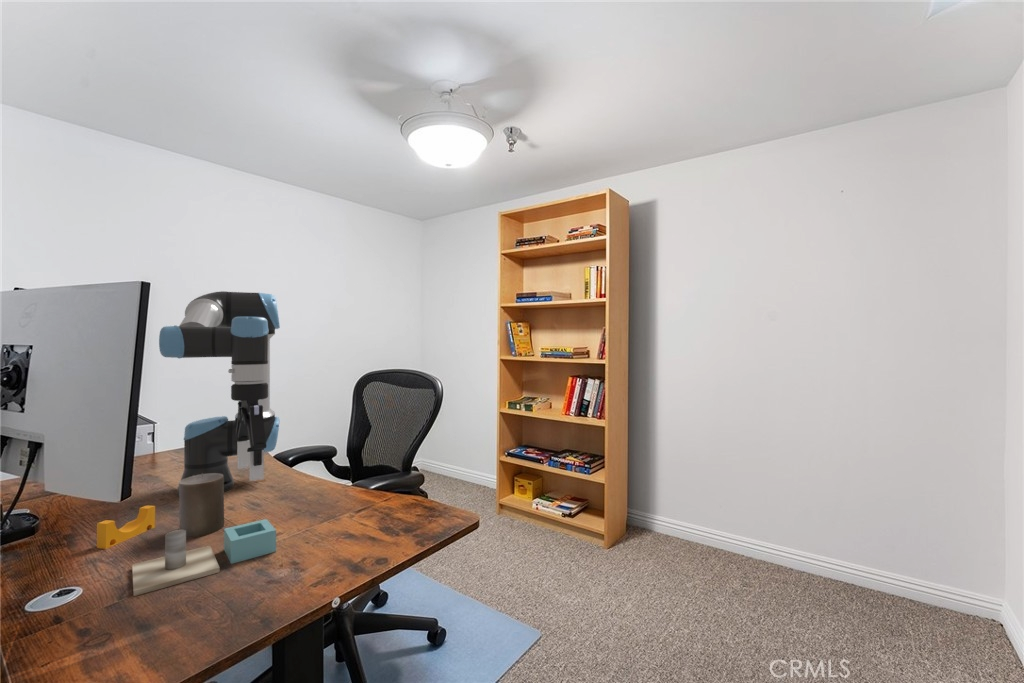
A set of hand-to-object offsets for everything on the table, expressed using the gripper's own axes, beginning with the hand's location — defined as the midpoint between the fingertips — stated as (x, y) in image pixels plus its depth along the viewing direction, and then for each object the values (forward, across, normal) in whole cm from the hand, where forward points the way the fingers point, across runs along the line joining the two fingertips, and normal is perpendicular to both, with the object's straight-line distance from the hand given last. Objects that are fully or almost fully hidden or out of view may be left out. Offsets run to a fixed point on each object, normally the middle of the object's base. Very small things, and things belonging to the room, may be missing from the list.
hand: (249, 473), depth 106 cm
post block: (+18, 0, -14) cm, 23 cm away
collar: (+18, 0, 0) cm, 18 cm away
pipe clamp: (+18, -28, -22) cm, 40 cm away
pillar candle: (+18, -21, -7) cm, 29 cm away
